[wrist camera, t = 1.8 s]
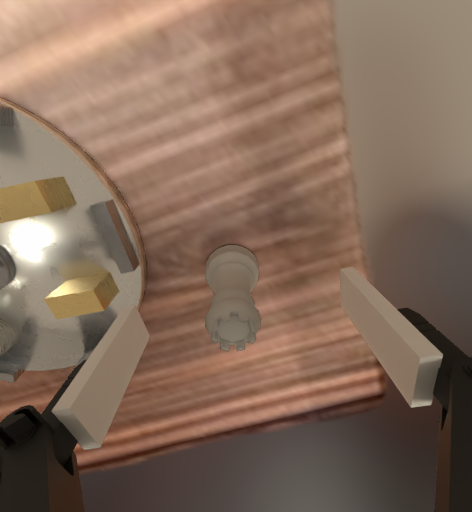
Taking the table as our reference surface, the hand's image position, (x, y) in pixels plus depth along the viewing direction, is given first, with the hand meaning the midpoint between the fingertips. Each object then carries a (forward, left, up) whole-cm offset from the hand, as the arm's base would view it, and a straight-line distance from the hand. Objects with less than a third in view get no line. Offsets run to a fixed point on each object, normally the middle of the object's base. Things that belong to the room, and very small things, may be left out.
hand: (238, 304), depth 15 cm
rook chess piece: (0, 0, -6) cm, 6 cm away
